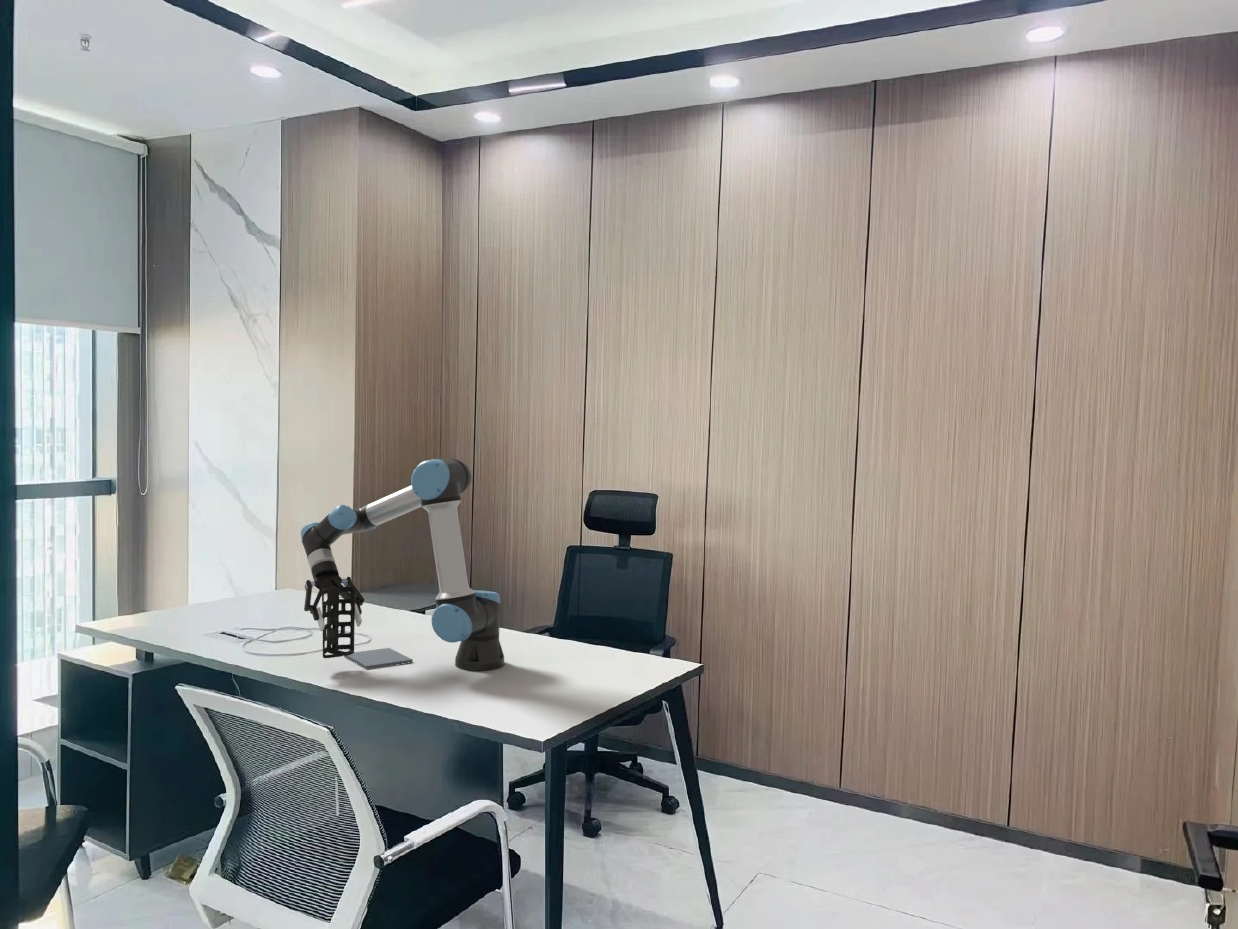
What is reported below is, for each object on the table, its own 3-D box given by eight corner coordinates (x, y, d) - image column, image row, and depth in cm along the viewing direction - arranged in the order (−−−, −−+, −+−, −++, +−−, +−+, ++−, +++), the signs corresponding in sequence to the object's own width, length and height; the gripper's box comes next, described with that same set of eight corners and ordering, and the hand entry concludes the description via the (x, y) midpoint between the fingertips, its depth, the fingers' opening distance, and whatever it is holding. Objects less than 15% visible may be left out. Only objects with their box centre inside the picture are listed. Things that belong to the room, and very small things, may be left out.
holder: (331, 660, 259) (332, 592, 258) (313, 657, 262) (314, 589, 262) (359, 652, 268) (360, 586, 268) (341, 649, 272) (342, 584, 272)
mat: (412, 662, 277) (412, 659, 277) (366, 669, 268) (366, 666, 268) (388, 650, 291) (388, 647, 291) (344, 656, 282) (344, 653, 282)
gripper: (356, 571, 284) (375, 628, 272) (282, 577, 270) (299, 638, 258) (362, 556, 280) (382, 614, 268) (288, 562, 266) (305, 623, 254)
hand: (341, 626), depth 263 cm, fingers closed on holder, 10 cm apart
